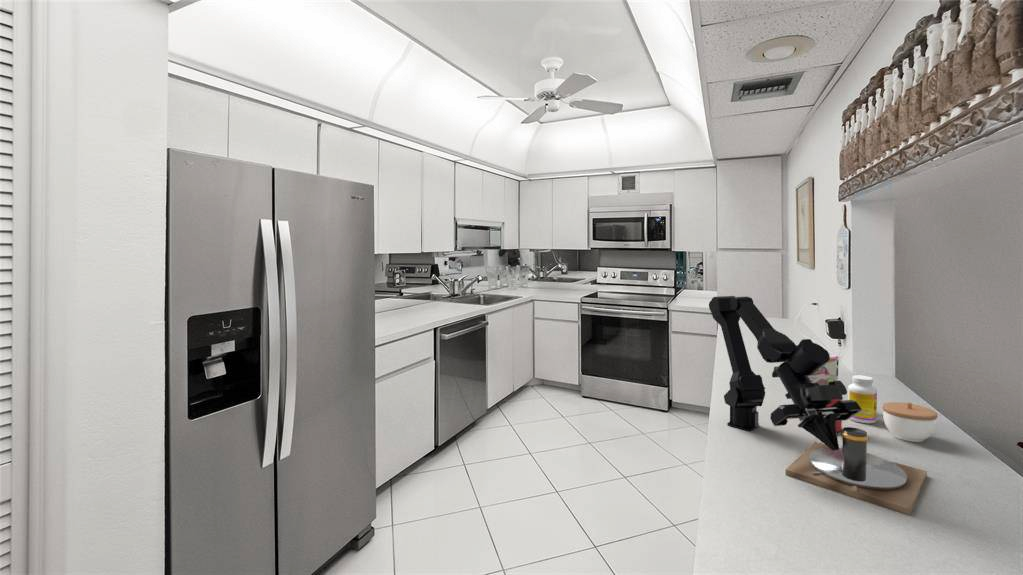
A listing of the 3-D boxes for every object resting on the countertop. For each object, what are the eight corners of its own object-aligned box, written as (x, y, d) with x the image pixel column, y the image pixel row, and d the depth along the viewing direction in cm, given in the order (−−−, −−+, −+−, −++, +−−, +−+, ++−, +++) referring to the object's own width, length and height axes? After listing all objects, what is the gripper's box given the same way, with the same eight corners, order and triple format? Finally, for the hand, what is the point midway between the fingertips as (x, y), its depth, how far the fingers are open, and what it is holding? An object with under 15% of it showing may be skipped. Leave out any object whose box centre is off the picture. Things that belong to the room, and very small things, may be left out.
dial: (813, 446, 108) (814, 403, 107) (905, 466, 97) (906, 418, 96) (804, 473, 95) (804, 424, 94) (908, 500, 84) (910, 445, 83)
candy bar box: (795, 404, 141) (796, 355, 140) (795, 399, 145) (795, 351, 144) (838, 409, 135) (839, 358, 134) (836, 404, 139) (837, 355, 138)
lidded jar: (938, 449, 107) (939, 413, 106) (881, 438, 114) (882, 404, 113) (934, 435, 115) (936, 401, 114) (882, 426, 122) (882, 393, 121)
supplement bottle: (878, 425, 122) (879, 381, 121) (849, 421, 125) (849, 378, 124) (874, 417, 128) (875, 375, 127) (846, 414, 131) (846, 373, 130)
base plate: (785, 474, 98) (785, 468, 98) (814, 446, 111) (814, 440, 111) (910, 515, 82) (910, 507, 81) (926, 476, 95) (926, 469, 95)
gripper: (779, 370, 96) (818, 439, 86) (855, 365, 98) (902, 432, 88) (756, 393, 105) (788, 458, 95) (826, 388, 106) (865, 451, 96)
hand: (836, 449), depth 93 cm, fingers closed
